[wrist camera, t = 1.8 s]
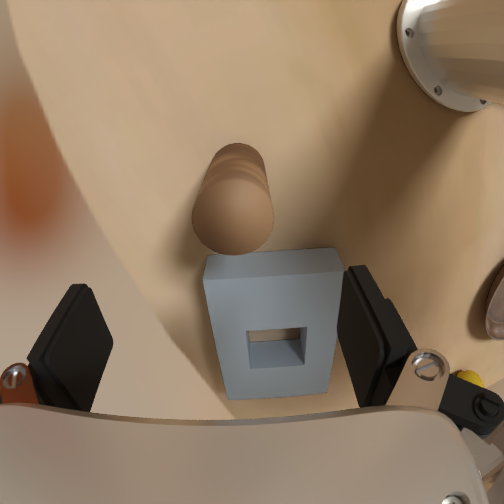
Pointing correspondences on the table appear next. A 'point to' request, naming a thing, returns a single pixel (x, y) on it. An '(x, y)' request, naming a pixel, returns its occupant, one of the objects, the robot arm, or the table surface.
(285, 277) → the hole board
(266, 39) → the table surface
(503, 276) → the plant saucer
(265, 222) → the walnut peg
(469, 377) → the lemon
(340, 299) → the robot arm
